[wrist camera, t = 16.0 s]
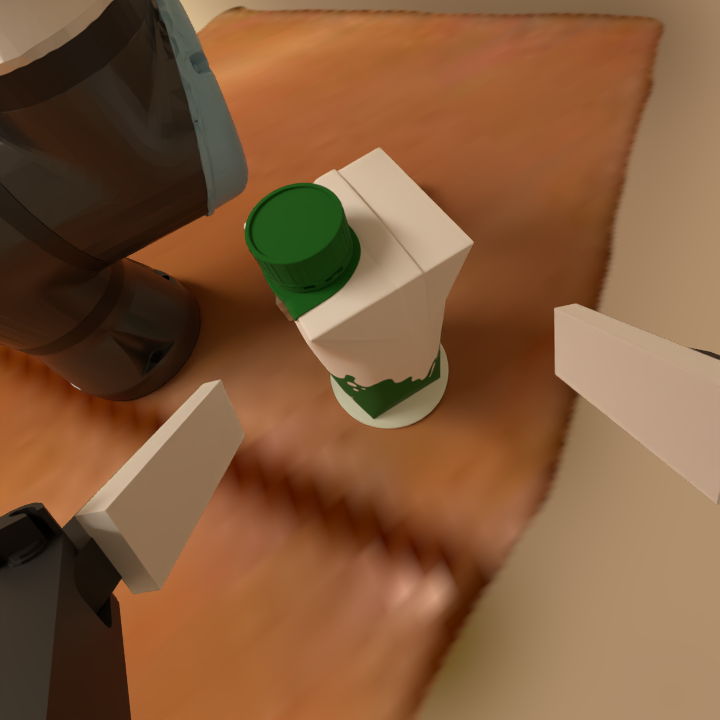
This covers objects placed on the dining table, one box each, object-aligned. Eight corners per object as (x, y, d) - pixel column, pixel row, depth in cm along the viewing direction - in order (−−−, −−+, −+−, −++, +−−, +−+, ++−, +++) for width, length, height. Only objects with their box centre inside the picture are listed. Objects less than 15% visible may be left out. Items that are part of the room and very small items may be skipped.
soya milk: (324, 357, 33) (202, 186, 14) (402, 309, 33) (380, 85, 15) (370, 434, 29) (285, 338, 11) (456, 380, 30) (514, 201, 11)
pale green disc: (339, 439, 30) (337, 438, 30) (325, 331, 35) (324, 329, 34) (462, 416, 29) (462, 415, 29) (432, 308, 33) (432, 305, 33)
